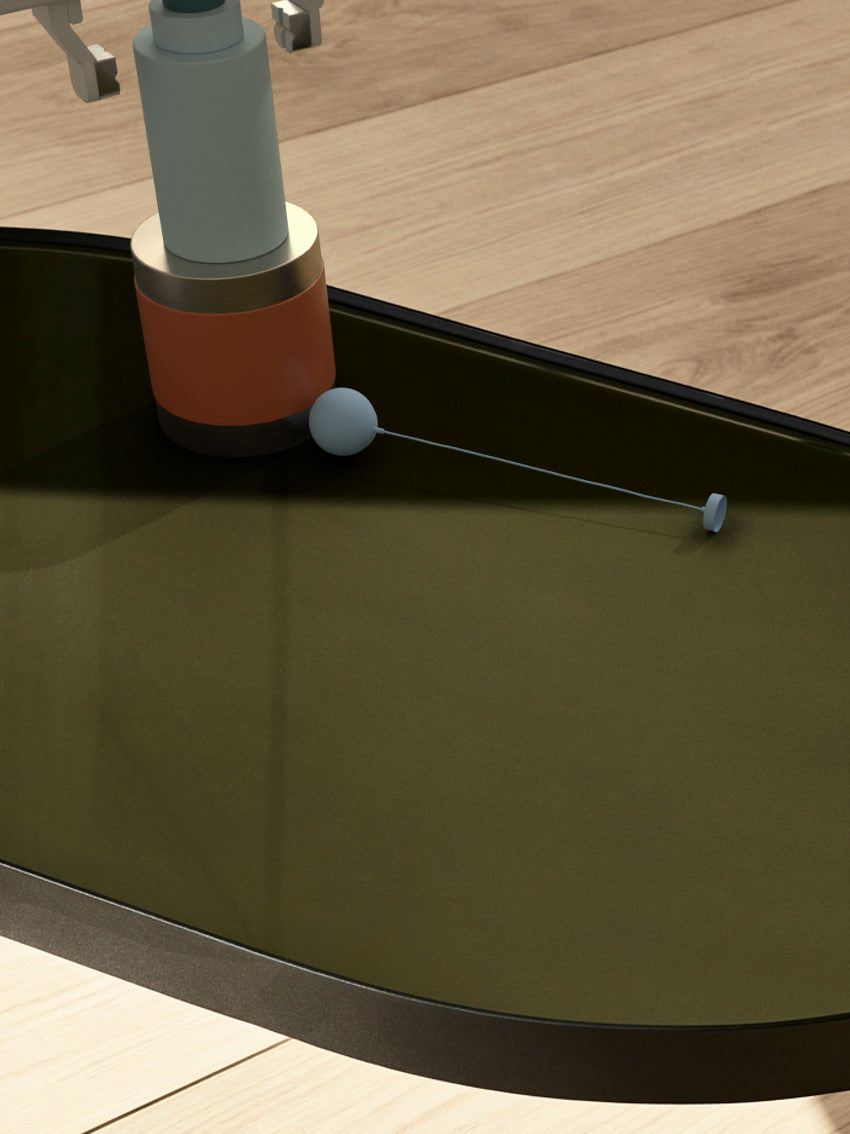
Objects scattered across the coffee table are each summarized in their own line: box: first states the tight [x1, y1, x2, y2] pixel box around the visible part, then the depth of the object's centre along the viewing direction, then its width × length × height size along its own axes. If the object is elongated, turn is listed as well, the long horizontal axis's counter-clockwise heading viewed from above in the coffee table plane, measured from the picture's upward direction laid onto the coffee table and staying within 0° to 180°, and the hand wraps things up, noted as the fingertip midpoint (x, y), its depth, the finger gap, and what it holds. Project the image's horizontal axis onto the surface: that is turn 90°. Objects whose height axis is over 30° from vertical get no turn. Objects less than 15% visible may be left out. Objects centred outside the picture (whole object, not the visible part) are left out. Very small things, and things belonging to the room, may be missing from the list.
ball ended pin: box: [309, 387, 728, 533], centre depth 103 cm, size 3×20×3 cm, turn 69°
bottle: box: [132, 0, 289, 263], centre depth 99 cm, size 6×6×12 cm
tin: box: [129, 200, 337, 458], centre depth 106 cm, size 9×9×9 cm
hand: (200, 70), depth 99 cm, fingers open, 8 cm apart
